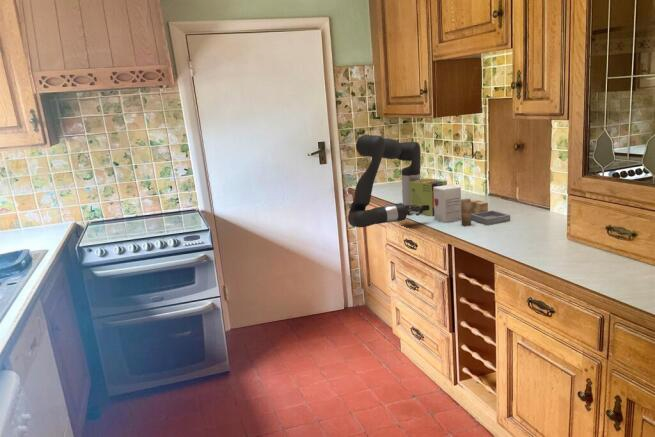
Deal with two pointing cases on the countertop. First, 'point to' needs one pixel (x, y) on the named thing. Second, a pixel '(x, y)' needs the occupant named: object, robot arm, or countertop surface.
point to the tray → (490, 217)
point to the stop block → (478, 206)
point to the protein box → (424, 193)
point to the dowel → (466, 212)
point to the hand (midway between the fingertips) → (428, 207)
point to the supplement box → (447, 203)
